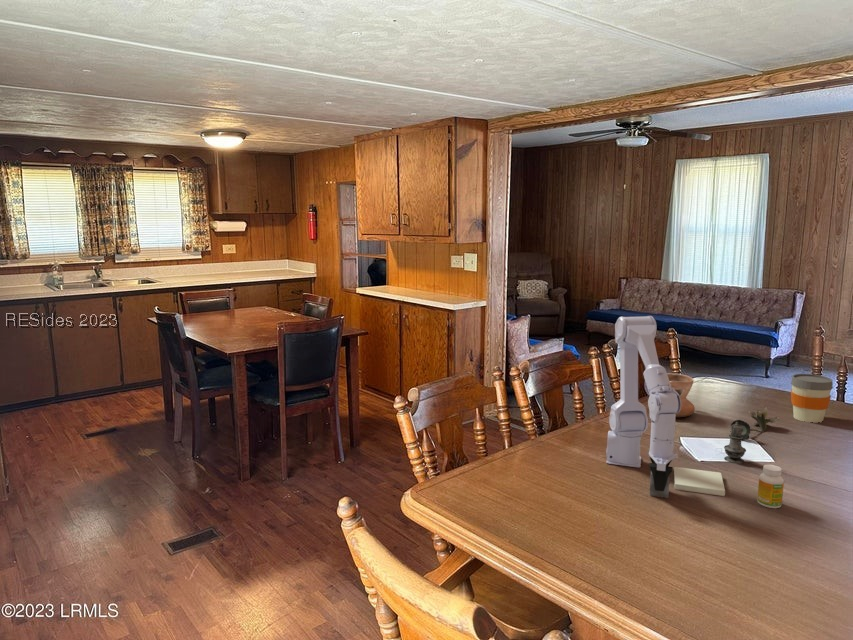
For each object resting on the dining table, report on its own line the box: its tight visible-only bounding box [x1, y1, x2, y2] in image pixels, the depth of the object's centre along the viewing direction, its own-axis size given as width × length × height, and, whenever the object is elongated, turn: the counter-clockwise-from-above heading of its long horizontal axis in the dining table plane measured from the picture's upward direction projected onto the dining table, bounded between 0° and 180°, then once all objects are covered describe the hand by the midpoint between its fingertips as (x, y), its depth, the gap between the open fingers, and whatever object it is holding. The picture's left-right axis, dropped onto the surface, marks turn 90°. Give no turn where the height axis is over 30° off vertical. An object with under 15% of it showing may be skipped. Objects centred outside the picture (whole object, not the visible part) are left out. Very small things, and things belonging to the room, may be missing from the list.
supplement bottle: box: [756, 464, 785, 509], centre depth 151 cm, size 5×5×10 cm
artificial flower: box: [729, 406, 780, 441], centre depth 202 cm, size 9×22×10 cm, turn 123°
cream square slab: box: [673, 466, 726, 497], centre depth 164 cm, size 12×12×2 cm
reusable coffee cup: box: [790, 373, 834, 424], centre depth 214 cm, size 13×13×15 cm
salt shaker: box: [723, 422, 747, 464], centre depth 178 cm, size 6×6×12 cm
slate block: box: [649, 471, 671, 499], centre depth 157 cm, size 4×4×6 cm
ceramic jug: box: [667, 372, 696, 418], centre depth 220 cm, size 18×14×14 cm
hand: (659, 486), depth 158 cm, fingers closed on slate block, 4 cm apart
